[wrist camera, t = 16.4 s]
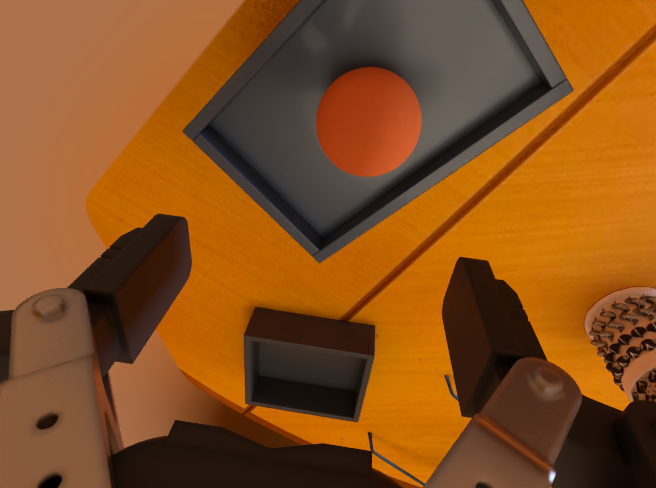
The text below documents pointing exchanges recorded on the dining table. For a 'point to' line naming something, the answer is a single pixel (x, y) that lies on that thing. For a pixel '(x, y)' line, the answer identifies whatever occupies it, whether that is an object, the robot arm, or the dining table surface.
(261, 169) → the tray
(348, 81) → the ball
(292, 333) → the bin
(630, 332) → the decorative candle
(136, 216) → the dining table surface
